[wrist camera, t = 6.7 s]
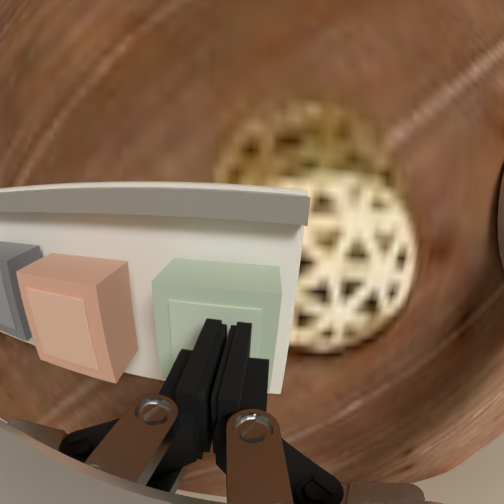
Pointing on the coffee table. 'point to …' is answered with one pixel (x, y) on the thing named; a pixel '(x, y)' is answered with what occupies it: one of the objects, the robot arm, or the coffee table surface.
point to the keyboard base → (165, 238)
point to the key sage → (215, 305)
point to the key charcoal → (14, 287)
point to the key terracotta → (80, 313)
